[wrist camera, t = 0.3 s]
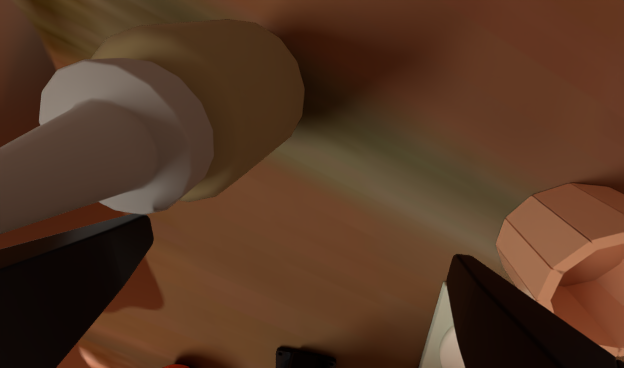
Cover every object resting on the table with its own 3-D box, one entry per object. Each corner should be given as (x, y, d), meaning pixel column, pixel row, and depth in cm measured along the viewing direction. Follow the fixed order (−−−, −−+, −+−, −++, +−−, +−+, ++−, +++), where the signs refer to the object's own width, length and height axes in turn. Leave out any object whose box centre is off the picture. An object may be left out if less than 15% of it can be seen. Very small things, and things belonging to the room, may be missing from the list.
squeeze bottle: (192, 29, 20) (-454, -42, 4) (307, 17, 19) (60, -152, 3) (217, 142, 23) (-76, 351, 7) (316, 137, 22) (227, 373, 6)
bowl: (604, 295, 23) (679, 367, 17) (483, 277, 24) (518, 339, 19) (663, 192, 19) (780, 242, 14) (519, 177, 21) (574, 218, 15)
